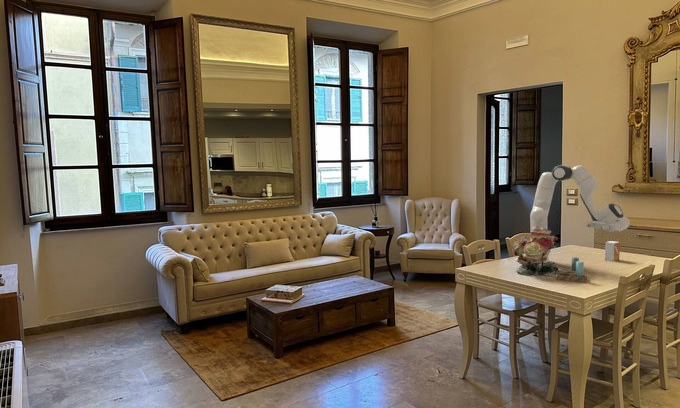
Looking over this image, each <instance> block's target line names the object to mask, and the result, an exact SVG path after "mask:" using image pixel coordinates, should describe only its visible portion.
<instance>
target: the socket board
mask: <svg viewBox="0 0 680 408" xmlns="http://www.w3.org/2000/svg"><path fill="white" fill-rule="evenodd" d="M556 280H557V281H565V282H573V283H574V282H575V283H586V284H587V283H588V274H583V277H576V274H571V273H560V272H559V271H558V272H557V274H556Z"/></svg>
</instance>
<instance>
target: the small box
mask: <svg viewBox="0 0 680 408" xmlns="http://www.w3.org/2000/svg"><path fill="white" fill-rule="evenodd" d="M604 243H605V248H604V260H605V261H609V262H616V261H619V260H620V249H621V242H620V241H613V240H609V241H606V242H604Z"/></svg>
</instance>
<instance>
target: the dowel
mask: <svg viewBox="0 0 680 408" xmlns="http://www.w3.org/2000/svg"><path fill="white" fill-rule="evenodd" d="M584 265H585V264H584V261H580V260H579V261H577V262H576V277H583V275H584V270H585V269H584Z"/></svg>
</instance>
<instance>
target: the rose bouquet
mask: <svg viewBox="0 0 680 408" xmlns="http://www.w3.org/2000/svg"><path fill="white" fill-rule="evenodd" d="M532 230H533V231H532V232H531V231H530V234H529V238H530V240H527V239H526V237H525V236H522V237H519V238H517V239H516V240H515V242H513V245H511V249H513V250H512V253H513V256H514V257H518V260H517V261H516V262H518V264H520V266H519V267H518V268H517V270H516V272H517V273H520V275H521V276H542V277H546V276H547V277H548V276H555V270H556V271H559V269H560V268H559V267H557V266H556V265H555V262H552V263H551V262H550V263H546V264H545V263H543V261H546V260H547V257H548V258H549V256H550V253H551V248H553V249H557V245H554V244H555V243H556V242H555V241H557V240H558V239H559V238H558V237H557V236H555V235H551V234H552V232H553V231H552V230H550V229H548V228H547V229H544V228H541V227H539V226H535V227H534V228H532ZM531 239H532V241H531ZM522 260H523V261H522ZM540 262H542V263H540Z"/></svg>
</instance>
